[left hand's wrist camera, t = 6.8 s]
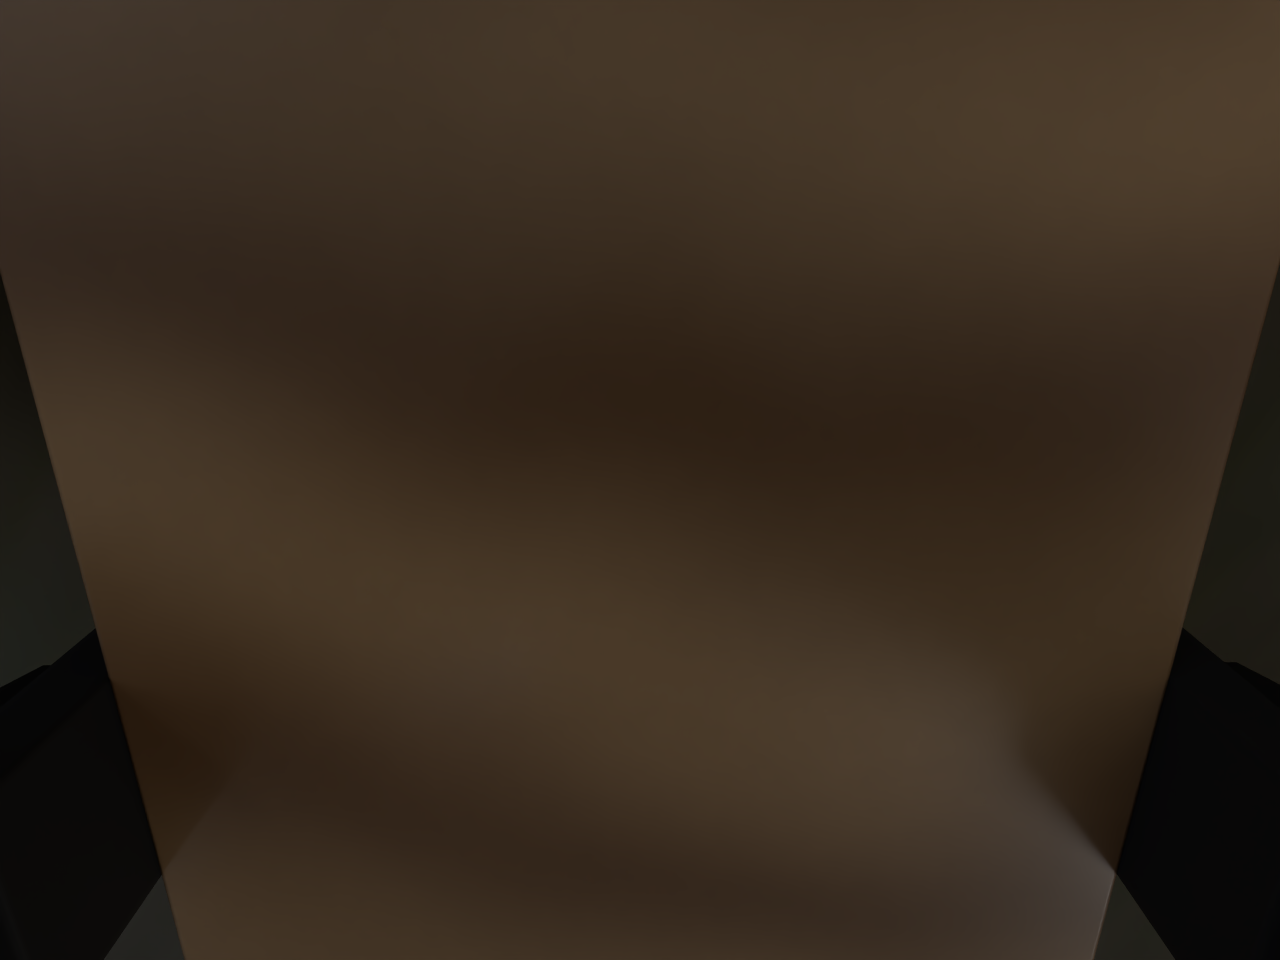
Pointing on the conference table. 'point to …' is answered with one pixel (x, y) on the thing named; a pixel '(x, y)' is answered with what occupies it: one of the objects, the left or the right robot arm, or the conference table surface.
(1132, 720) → the cabinet
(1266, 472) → the conference table surface
